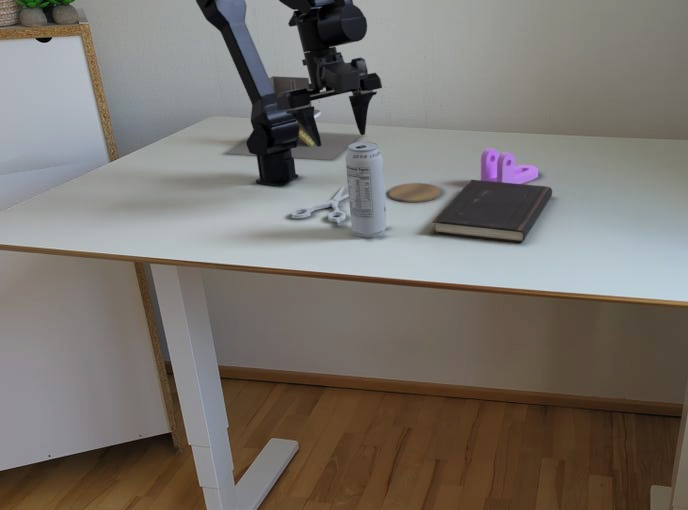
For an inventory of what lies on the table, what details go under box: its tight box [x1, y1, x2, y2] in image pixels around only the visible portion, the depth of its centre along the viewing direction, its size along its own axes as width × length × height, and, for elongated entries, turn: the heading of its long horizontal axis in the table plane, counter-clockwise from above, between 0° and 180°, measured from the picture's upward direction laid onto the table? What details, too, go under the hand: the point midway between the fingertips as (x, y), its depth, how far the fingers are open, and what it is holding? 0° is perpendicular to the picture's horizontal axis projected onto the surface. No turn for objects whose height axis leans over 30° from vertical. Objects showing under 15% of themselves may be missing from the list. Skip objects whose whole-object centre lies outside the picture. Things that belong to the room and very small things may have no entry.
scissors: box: [290, 184, 349, 227], centre depth 149 cm, size 11×1×20 cm
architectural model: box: [226, 75, 360, 161], centre depth 180 cm, size 20×25×15 cm
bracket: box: [480, 147, 539, 184], centre depth 159 cm, size 13×6×7 cm, turn 137°
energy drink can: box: [345, 141, 388, 239], centre depth 133 cm, size 6×6×15 cm
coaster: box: [388, 182, 441, 203], centre depth 154 cm, size 10×10×1 cm
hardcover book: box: [432, 179, 553, 244], centre depth 143 cm, size 16×23×2 cm
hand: (341, 140), depth 144 cm, fingers open, 9 cm apart
